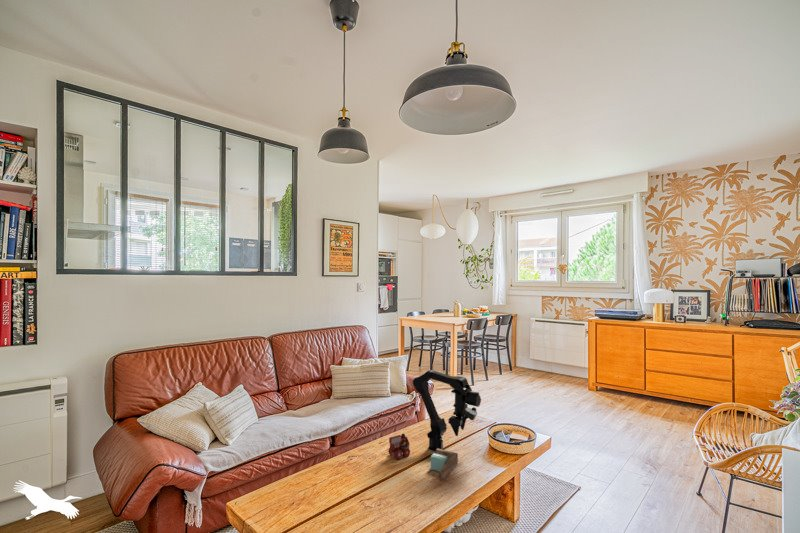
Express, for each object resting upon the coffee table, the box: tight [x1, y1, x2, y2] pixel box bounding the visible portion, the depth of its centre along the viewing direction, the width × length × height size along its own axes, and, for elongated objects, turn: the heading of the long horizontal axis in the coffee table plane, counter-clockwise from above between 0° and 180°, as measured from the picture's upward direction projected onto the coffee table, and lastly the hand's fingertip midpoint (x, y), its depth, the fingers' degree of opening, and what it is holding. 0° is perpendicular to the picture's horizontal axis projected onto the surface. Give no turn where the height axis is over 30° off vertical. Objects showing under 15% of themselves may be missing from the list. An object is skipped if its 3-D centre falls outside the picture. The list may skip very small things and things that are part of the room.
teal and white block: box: [430, 452, 448, 473], centre depth 184 cm, size 7×4×6 cm, turn 62°
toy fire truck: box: [387, 433, 411, 460], centre depth 197 cm, size 7×12×10 cm, turn 126°
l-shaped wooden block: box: [428, 448, 459, 482], centre depth 184 cm, size 11×19×5 cm, turn 152°
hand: (459, 432), depth 198 cm, fingers open, 9 cm apart
